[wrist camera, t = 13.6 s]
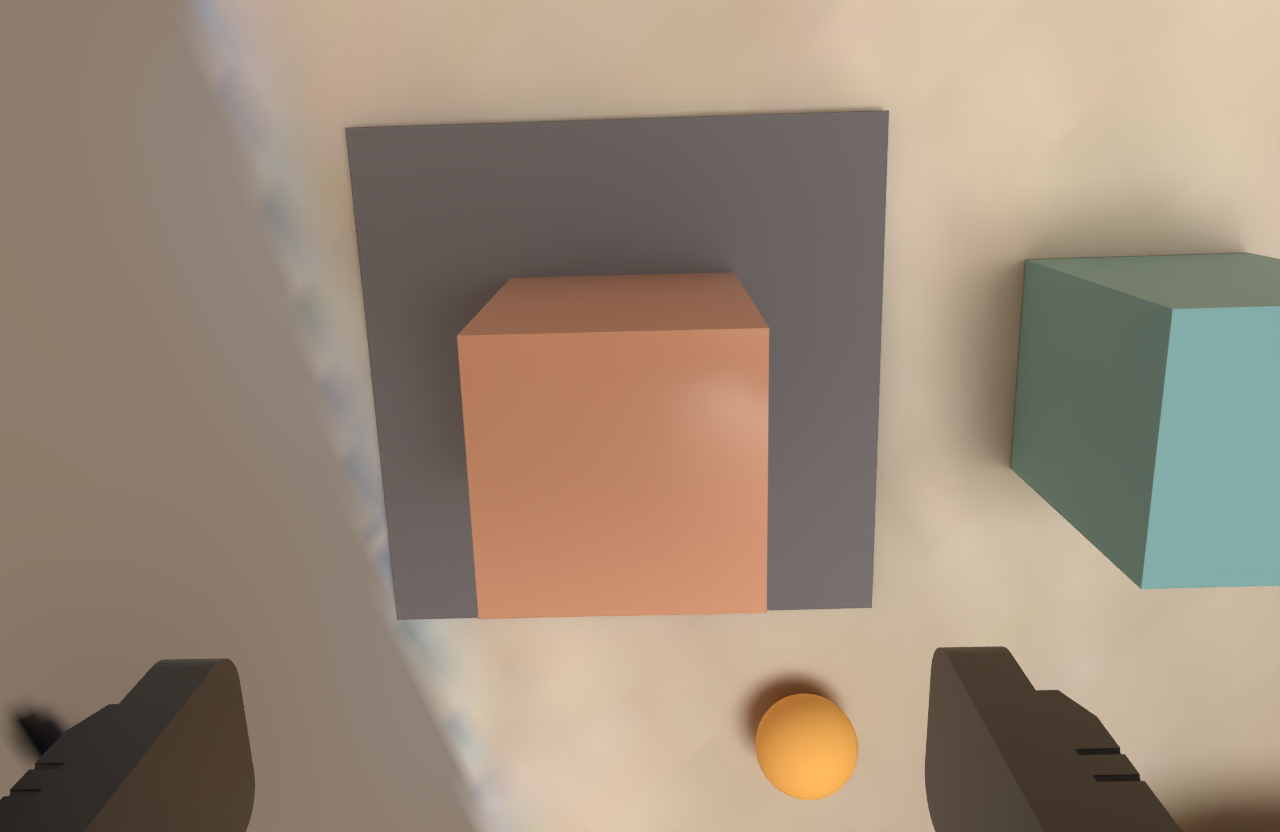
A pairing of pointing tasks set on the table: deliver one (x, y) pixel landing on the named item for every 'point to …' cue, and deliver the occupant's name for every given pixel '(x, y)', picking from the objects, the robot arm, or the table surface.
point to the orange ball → (806, 746)
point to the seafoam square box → (1157, 411)
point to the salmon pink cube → (617, 446)
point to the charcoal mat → (631, 245)
